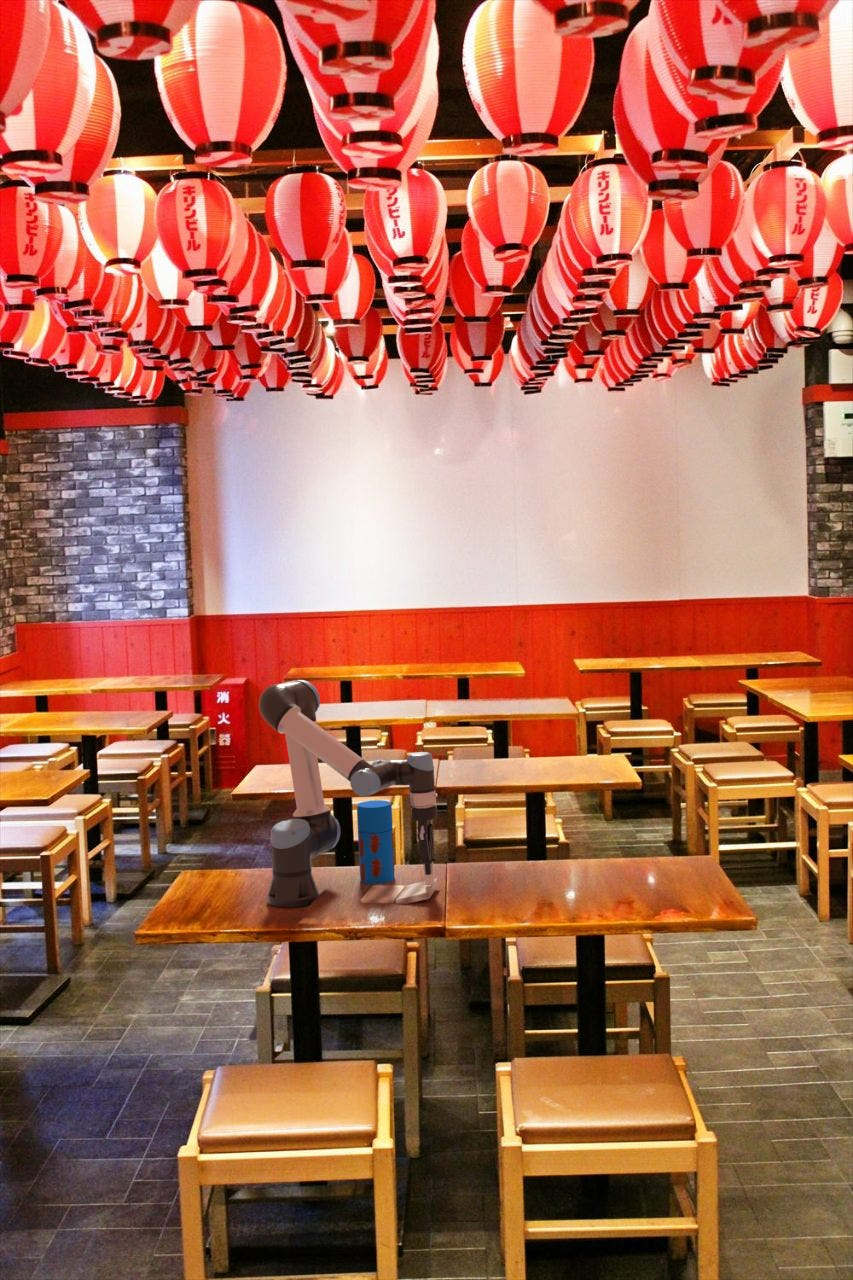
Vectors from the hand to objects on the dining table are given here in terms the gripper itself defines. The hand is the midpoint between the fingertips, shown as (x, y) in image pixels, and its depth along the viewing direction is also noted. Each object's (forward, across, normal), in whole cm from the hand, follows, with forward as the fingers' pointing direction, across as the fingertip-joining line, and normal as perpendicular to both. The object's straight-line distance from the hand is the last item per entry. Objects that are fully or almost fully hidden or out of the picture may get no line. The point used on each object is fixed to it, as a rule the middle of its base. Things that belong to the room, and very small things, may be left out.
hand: (430, 884), depth 350 cm
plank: (+3, 0, +4) cm, 5 cm away
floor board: (+5, 0, +9) cm, 10 cm away
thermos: (+4, +17, +20) cm, 27 cm away
